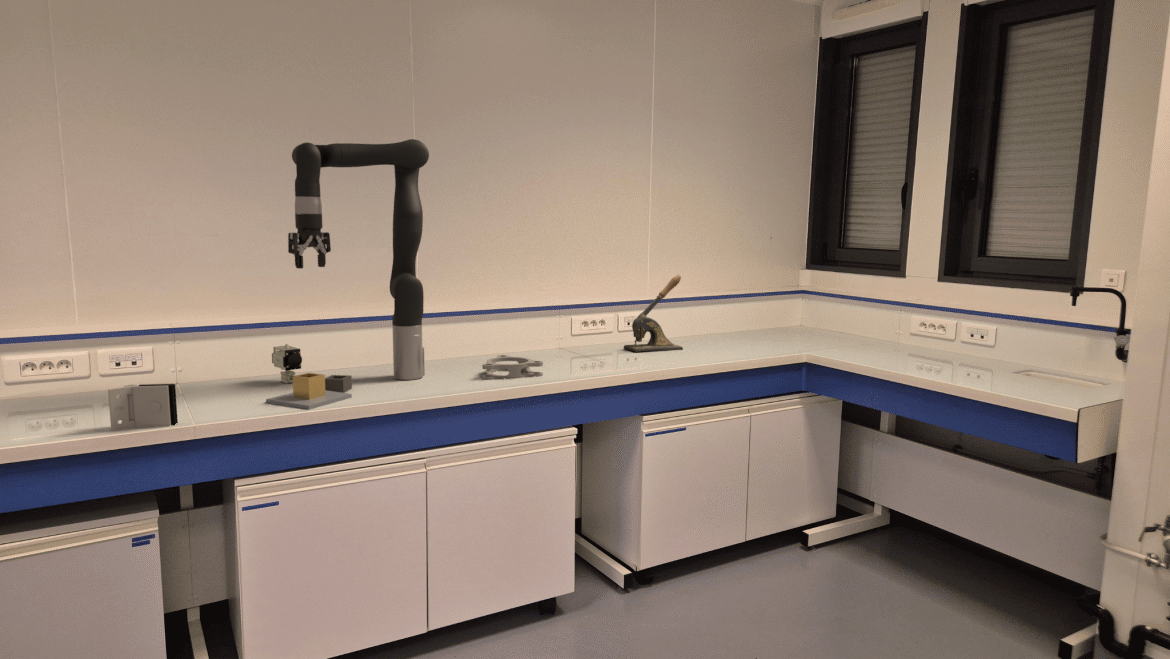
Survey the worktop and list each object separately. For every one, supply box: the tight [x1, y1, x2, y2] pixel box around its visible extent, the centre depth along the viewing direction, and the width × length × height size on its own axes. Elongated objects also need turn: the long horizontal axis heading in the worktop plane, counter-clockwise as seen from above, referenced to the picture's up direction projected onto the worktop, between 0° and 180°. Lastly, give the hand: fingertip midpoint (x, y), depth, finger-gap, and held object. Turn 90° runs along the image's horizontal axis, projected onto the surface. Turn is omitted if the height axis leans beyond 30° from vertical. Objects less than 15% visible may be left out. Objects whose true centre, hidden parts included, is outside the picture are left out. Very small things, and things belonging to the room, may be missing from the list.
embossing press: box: [623, 274, 684, 353], centre depth 302 cm, size 11×24×30 cm, turn 113°
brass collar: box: [292, 372, 326, 400], centre depth 211 cm, size 6×6×6 cm
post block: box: [265, 390, 353, 410], centre depth 211 cm, size 16×16×6 cm
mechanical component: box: [481, 354, 544, 380], centre depth 253 cm, size 20×19×5 cm
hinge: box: [107, 382, 179, 432], centre depth 183 cm, size 14×5×10 cm, turn 113°
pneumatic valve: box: [271, 343, 303, 384], centre depth 234 cm, size 6×12×12 cm, turn 45°
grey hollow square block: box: [325, 374, 353, 393], centre depth 224 cm, size 6×6×4 cm
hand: (310, 267), depth 224 cm, fingers open, 8 cm apart
